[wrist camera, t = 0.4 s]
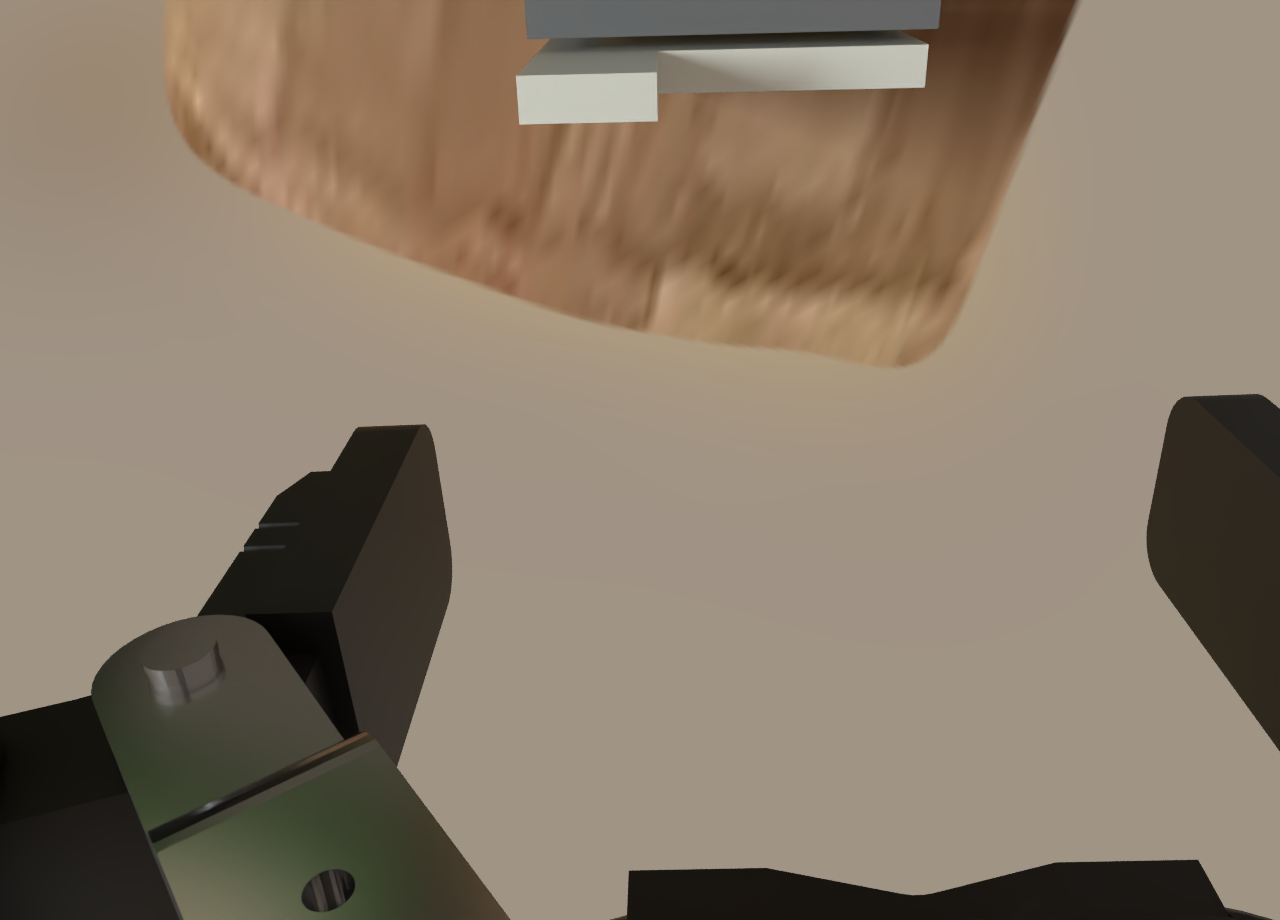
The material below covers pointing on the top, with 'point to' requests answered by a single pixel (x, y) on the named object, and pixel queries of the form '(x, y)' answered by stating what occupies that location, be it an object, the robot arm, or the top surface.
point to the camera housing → (722, 17)
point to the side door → (706, 70)
